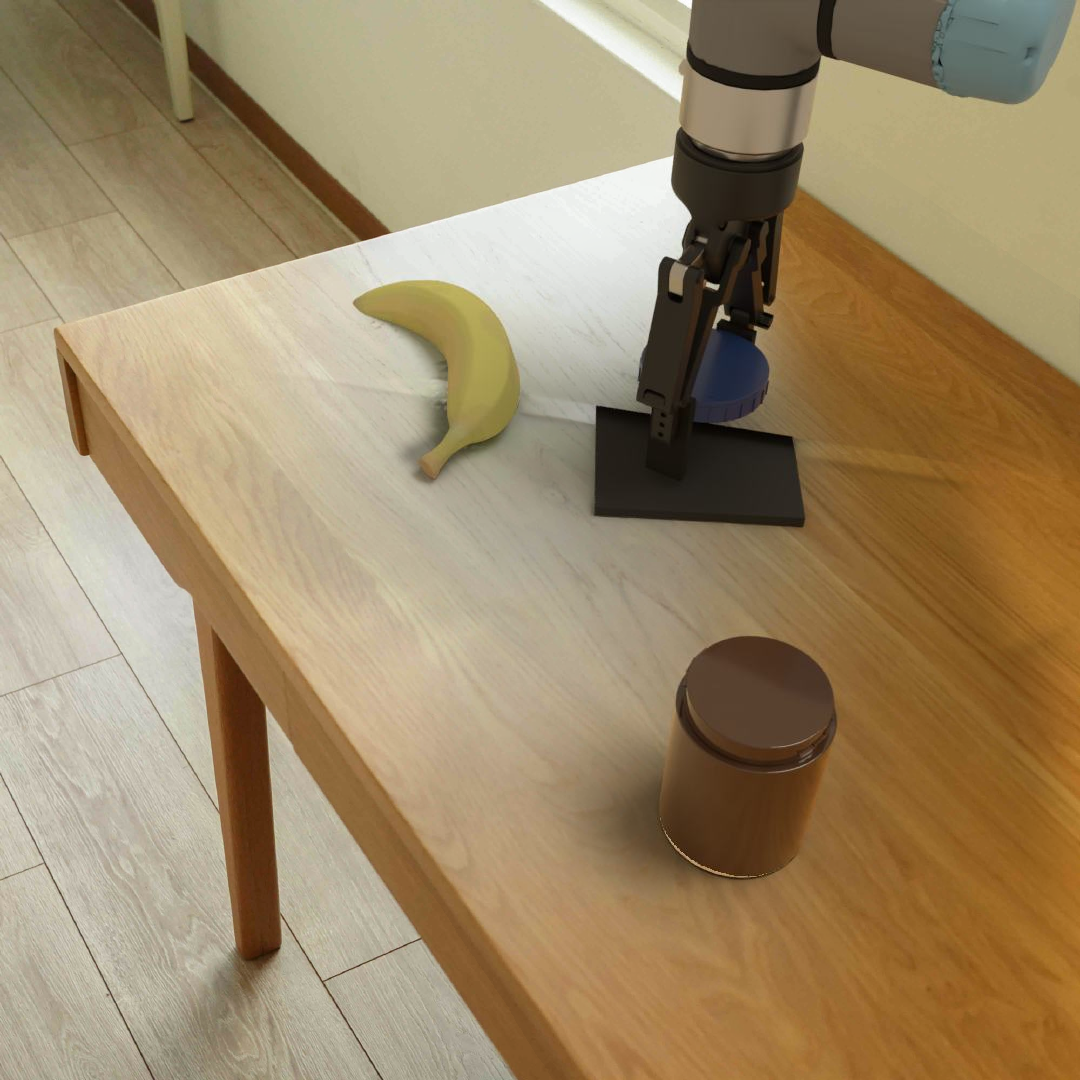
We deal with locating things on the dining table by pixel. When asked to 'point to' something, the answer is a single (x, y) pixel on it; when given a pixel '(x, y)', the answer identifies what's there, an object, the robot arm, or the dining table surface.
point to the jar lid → (728, 378)
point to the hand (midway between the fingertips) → (695, 435)
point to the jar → (746, 754)
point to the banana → (456, 357)
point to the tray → (697, 474)
